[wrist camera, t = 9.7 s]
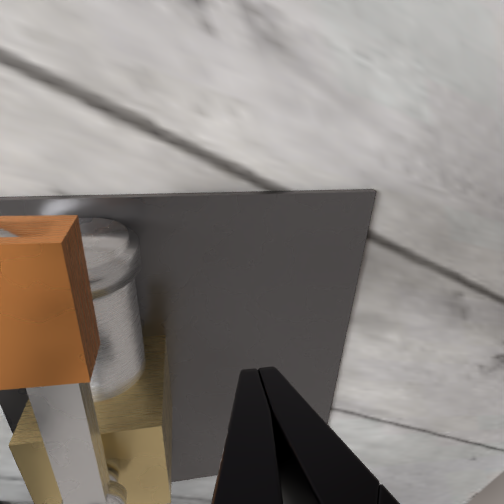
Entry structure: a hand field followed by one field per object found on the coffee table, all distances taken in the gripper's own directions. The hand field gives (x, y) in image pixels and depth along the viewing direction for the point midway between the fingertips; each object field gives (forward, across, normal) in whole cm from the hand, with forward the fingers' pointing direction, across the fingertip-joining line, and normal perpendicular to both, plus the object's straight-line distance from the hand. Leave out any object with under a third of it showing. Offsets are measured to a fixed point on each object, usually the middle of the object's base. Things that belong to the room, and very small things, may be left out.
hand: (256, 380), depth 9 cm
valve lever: (+5, +6, +5) cm, 9 cm away
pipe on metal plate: (+12, +2, +12) cm, 17 cm away
